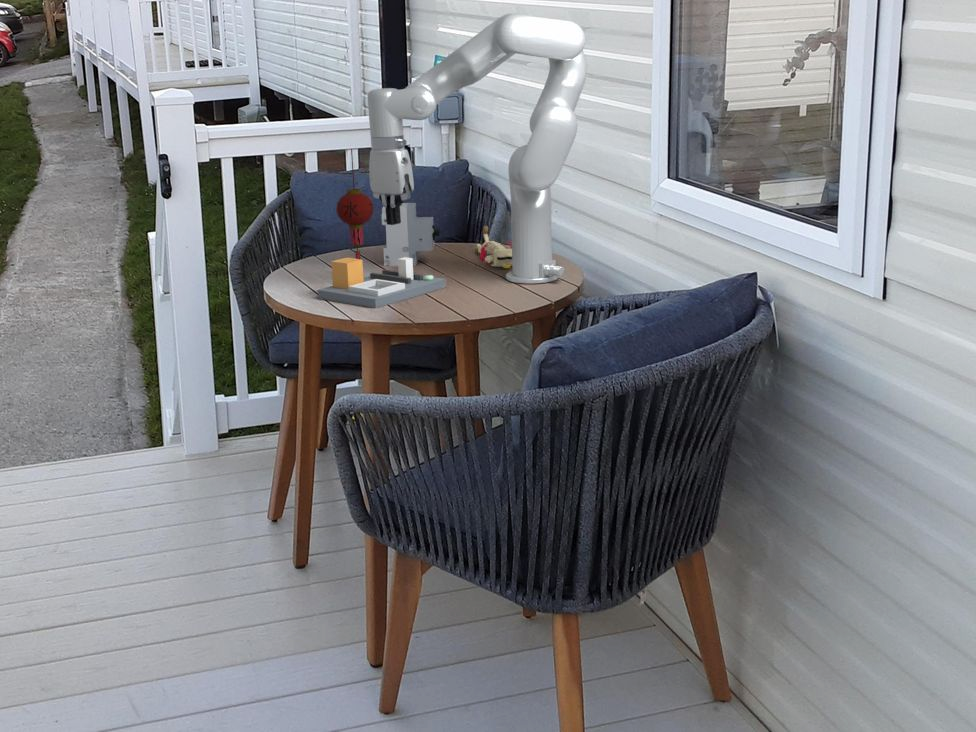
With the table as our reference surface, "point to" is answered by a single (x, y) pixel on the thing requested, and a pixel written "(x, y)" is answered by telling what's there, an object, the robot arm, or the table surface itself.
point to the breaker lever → (405, 267)
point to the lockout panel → (383, 289)
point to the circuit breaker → (408, 235)
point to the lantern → (355, 213)
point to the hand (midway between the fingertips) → (393, 223)
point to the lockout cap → (347, 272)
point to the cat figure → (494, 252)
